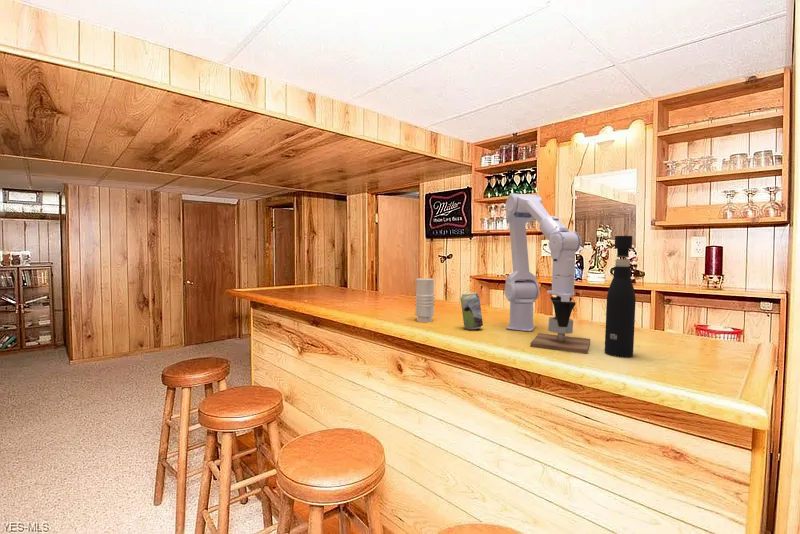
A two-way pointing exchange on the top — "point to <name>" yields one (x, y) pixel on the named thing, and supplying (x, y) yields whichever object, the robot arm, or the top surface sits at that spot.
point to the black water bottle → (620, 304)
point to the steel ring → (555, 327)
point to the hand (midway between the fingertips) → (561, 324)
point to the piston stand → (561, 343)
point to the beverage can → (471, 310)
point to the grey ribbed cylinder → (424, 299)
